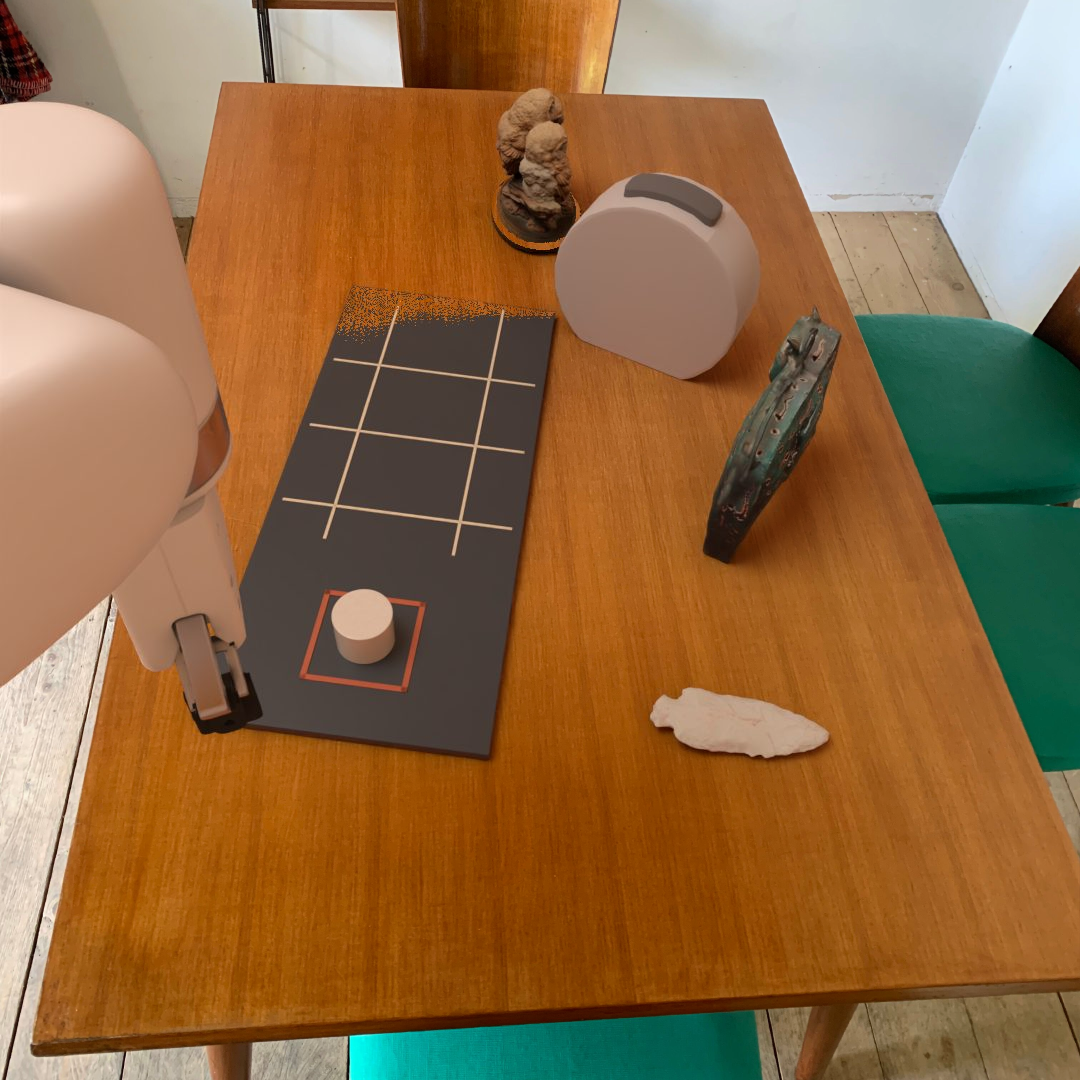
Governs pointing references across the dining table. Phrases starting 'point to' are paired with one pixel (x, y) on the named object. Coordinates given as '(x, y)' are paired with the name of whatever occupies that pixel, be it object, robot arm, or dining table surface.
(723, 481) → the ceramic cat
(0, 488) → the robot arm
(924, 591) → the dining table surface
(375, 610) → the white cylinder
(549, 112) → the owl figurine
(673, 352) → the alarm clock
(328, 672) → the board
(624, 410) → the dining table surface
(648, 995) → the dining table surface
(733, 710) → the stone tool
